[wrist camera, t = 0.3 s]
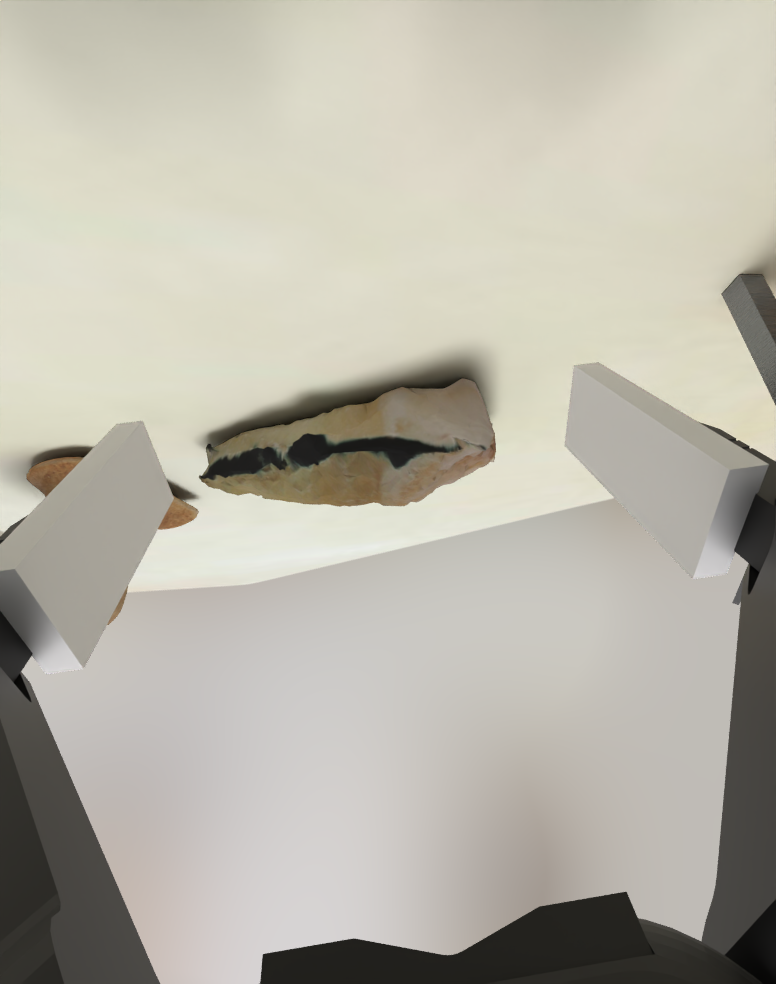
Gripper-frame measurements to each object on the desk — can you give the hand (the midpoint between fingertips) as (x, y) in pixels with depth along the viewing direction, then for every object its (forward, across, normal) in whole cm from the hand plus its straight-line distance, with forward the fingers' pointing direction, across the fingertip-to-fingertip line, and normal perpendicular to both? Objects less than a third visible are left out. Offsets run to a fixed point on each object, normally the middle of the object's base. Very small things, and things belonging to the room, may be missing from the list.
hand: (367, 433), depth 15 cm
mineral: (+27, -2, -10) cm, 29 cm away
